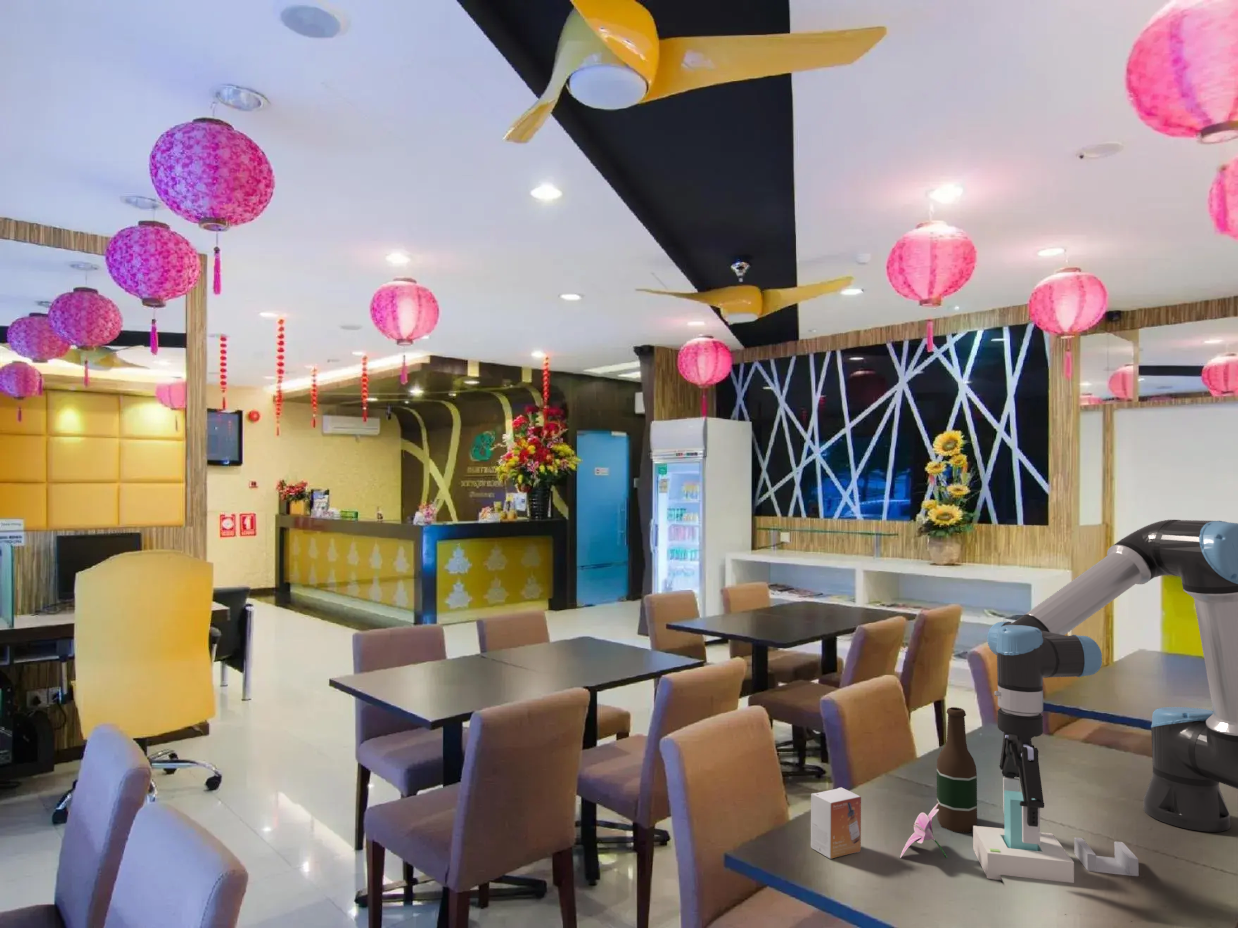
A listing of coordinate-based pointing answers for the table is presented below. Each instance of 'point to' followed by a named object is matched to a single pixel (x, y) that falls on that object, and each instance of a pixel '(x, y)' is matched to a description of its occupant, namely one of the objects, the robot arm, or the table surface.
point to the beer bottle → (956, 778)
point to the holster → (1107, 859)
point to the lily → (923, 830)
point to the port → (1021, 857)
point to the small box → (836, 822)
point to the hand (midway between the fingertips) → (1020, 827)
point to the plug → (1014, 822)
